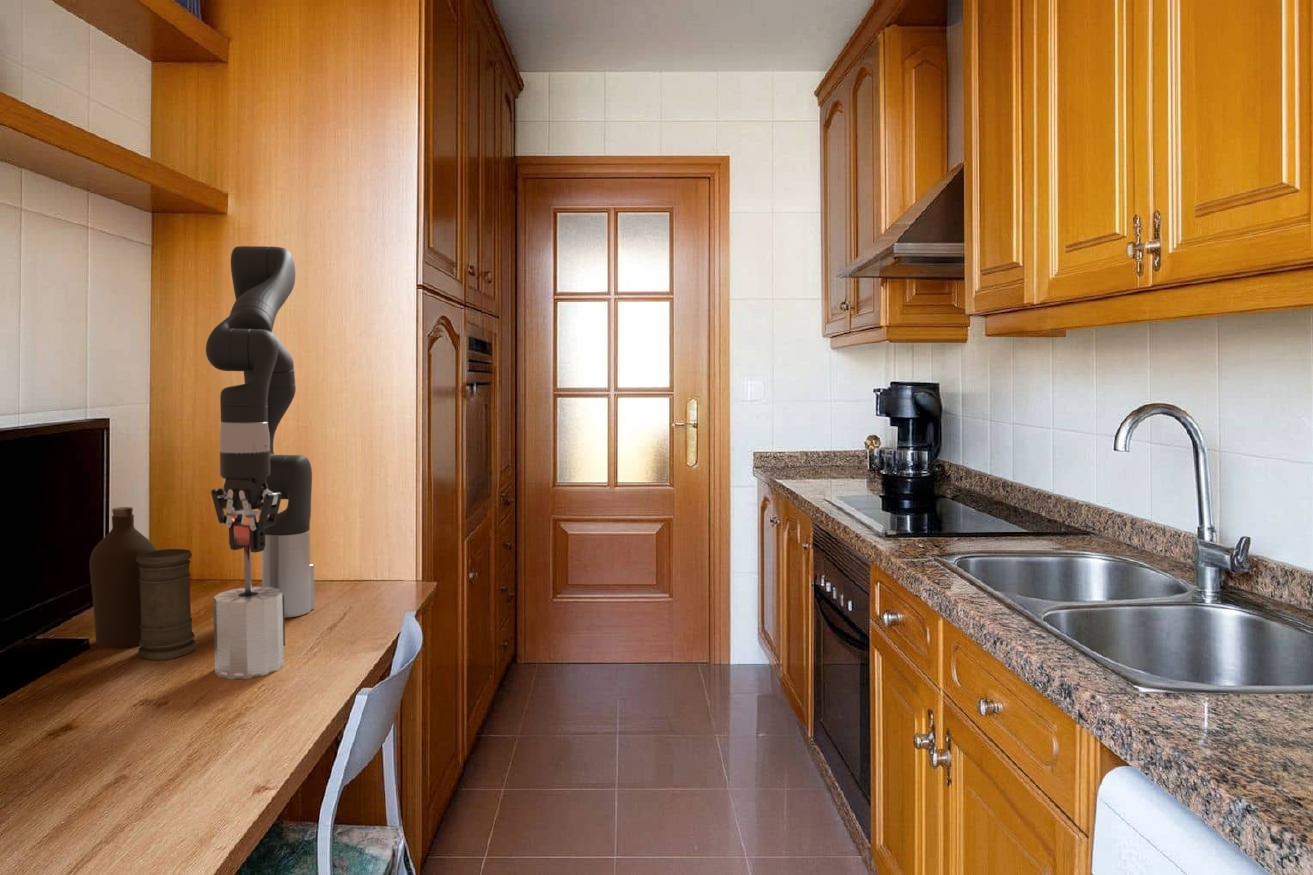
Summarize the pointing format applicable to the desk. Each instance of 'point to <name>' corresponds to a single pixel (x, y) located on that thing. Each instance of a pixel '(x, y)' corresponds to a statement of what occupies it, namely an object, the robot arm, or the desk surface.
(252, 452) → the robot arm
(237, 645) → the press carafe
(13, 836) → the desk surface
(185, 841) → the desk surface
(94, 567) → the olive oil
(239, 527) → the plunger
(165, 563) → the container
